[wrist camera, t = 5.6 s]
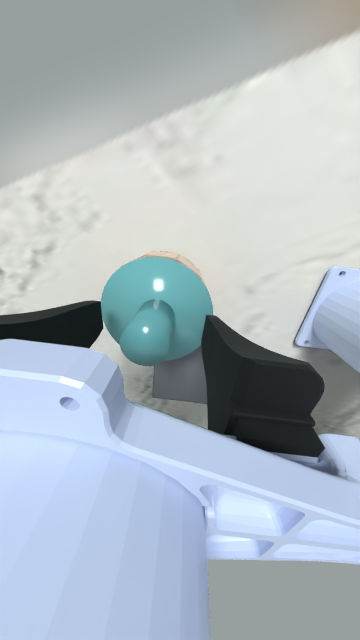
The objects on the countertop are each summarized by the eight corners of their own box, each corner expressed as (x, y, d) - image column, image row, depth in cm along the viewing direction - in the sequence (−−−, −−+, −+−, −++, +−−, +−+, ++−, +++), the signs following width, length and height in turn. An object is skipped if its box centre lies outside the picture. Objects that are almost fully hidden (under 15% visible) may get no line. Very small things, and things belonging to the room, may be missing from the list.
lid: (224, 268, 12) (243, 286, 8) (199, 362, 16) (202, 408, 12) (103, 246, 12) (56, 252, 8) (106, 346, 16) (76, 388, 12)
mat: (237, 347, 19) (238, 349, 19) (220, 402, 23) (220, 405, 23) (156, 337, 19) (155, 339, 19) (153, 394, 23) (152, 397, 23)
